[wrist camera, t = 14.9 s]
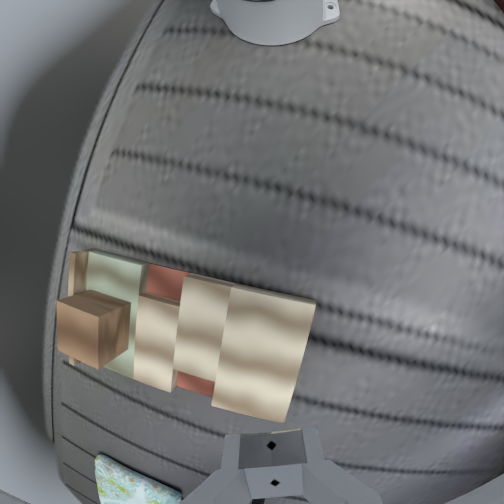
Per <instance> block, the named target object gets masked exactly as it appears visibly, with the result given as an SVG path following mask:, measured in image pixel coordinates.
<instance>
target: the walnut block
mask: <svg viewBox="0 0 504 504" xmlns="http://www.w3.org/2000/svg"><path fill="white" fill-rule="evenodd" d="M130 311H131V302H128V301H125V300H122V299H119V298H115V297H112V296H109V295H106V294H103V293H100V292H97V291H94V290H88V291H85V292H82V293H79V294H75V295H72V296H69V297H66V298H63V299H60V300H57V339H58V350H59V351H61V352H63V353H65V354H67V355H69V356H71V357H73V358H75V359H77V360H79V361H81V362H83V363H85V364H87V365H89V366H92V367H94V368H96V369H98V370H99V369H100V368H102V367H103V366H104V365H106V364H107V363H109V362H110V361H112V360H113V359H115V358H116V357H117V356H119V355H120V354H122V353H123V352H125V351H126V350H128V346H129V326H130Z"/></svg>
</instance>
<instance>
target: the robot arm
mask: <svg viewBox="0 0 504 504" xmlns="http://www.w3.org/2000/svg"><path fill="white" fill-rule="evenodd" d="M210 8H211V11H212V13H214V14H215V15H217V16H219V17H220V18H222V19H223V20H224V21H225V23H226V25H227V26H228V28H229V29H230V30H231V31H232V32H233V33H234V34H235V35H236V36H238V37H239V38H241V39H243V40H245V41H248V42H251V43H254V44H260V45H283V44H288V43H292V42H296V41H298V40H301V39H303V38H305V37H307V36H308V35H310V34H311V33H313V32H314V31H315V30H316V29H318V28H319V27H321V26H322V25H326V24H330V23H333V22H336V21H337V20H339V18H340V11H339V6H338V1H337V0H213V1H212V3H211V4H210ZM329 8H332V9H329ZM295 495H303V496H304V497H305V498H306V499H307V500H308V501H309V502H310V503H311V504H383V503H382V500H381V497H380V494H379V493H377V492H376V491H374V490H373V489H371V488H370V487H368V486H367V485H365V484H364V483H362V482H361V481H359V480H358V479H356V478H355V477H353V476H352V475H350V474H349V473H347V472H346V471H345V470H343V469H342V468H340V467H339V466H338V465H336V464H335V463H333V462H332V461H331V460H325V458H324V454H323V449H322V445H321V440H320V436H319V432H318V428H317V427H316V426H314V427H307V428H301V429H294V430H286V431H277V432H269V433H253V434H234V435H226V436H225V438H224V446H223V454H222V462H221V470H215V471H214V472H213V473H212V474H211V475H210V476H209V477H208V478H207V479H206V480H205V481H204V482H203V483H202V484H200V485H199V486H198V487H197V488H196V489H195V490H194V491H193V492H192V493H190V494H189V495H188V496H187V497H186V498H185V499H184V500H183V501H181V502H180V503H179V504H249V503H250V502H251V499H261V498H272V497H283V496H295ZM0 504H30V503H28V502H25V501H23V500H21V499H19V498H17V497H15V496H13V495H10V494H8V493H6V492H4V491H2V490H1V489H0ZM445 504H504V474H502V475H501V476H499V477H497V478H495V479H494V480H492V481H490V482H488V483H486V484H485V485H483V486H481V487H479V488H477V489H475V490H473V491H471V492H469V493H467V494H465V495H463V496H460V497H458V498H456V499H454V500H452V501H449V502H447V503H445Z"/></svg>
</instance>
